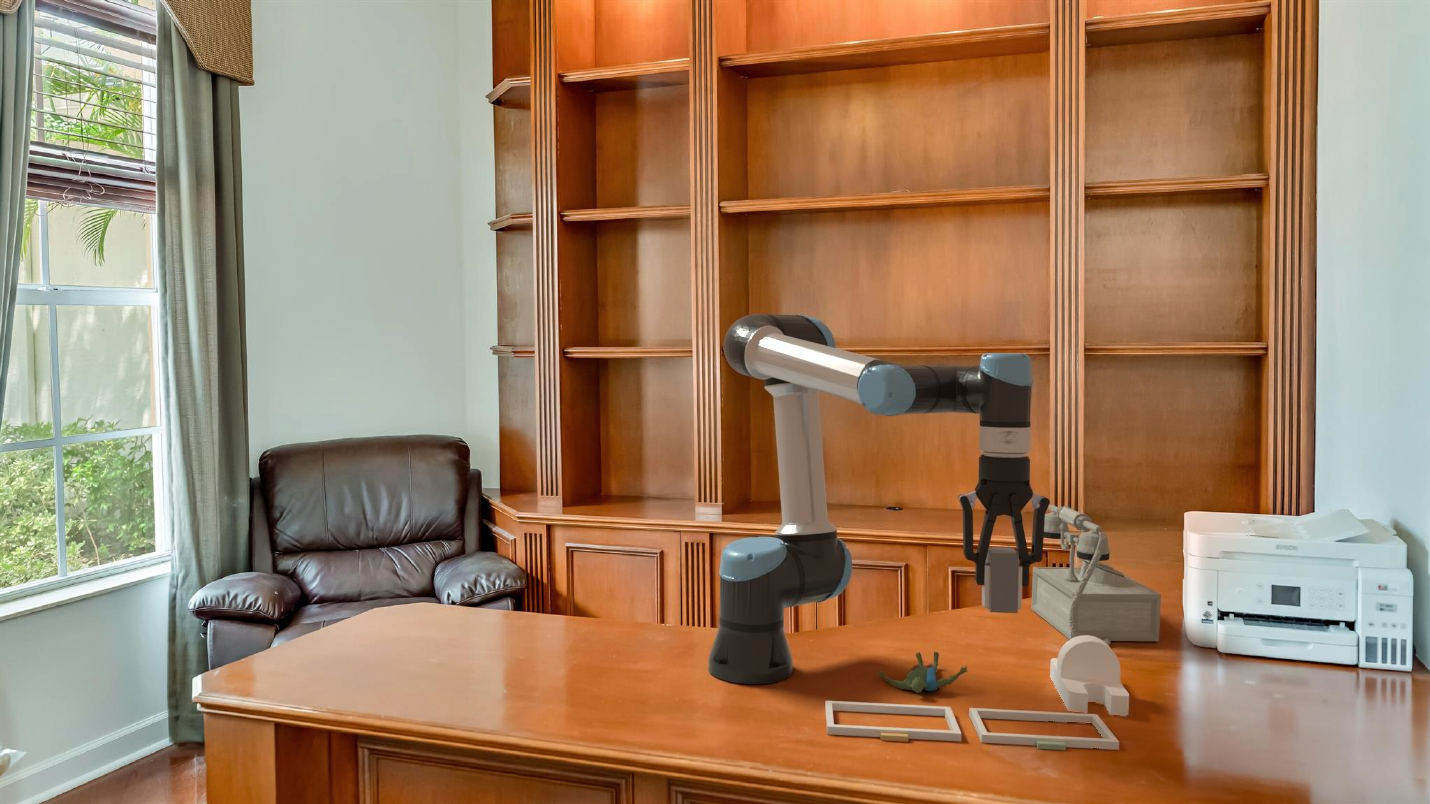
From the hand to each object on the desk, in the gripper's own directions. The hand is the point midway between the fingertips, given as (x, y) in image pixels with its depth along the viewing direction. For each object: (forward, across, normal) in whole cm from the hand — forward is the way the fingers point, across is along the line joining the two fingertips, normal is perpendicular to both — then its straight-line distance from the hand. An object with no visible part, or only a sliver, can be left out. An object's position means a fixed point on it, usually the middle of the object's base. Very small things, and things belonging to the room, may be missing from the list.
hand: (1001, 606), depth 153 cm
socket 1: (+19, -16, +1) cm, 25 cm away
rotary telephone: (+19, +29, +62) cm, 71 cm away
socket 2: (+20, +6, +1) cm, 21 cm away
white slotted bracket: (+20, +18, +20) cm, 33 cm away
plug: (0, 0, 0) cm, 0 cm away
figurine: (+20, -10, +21) cm, 30 cm away
